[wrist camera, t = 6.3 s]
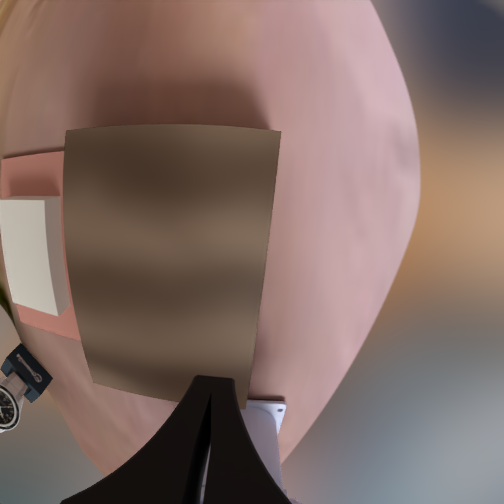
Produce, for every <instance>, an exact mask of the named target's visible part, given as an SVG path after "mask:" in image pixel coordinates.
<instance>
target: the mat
mask: <svg viewBox="0 0 504 504" xmlns="http://www.w3.org/2000/svg"><path fill="white" fill-rule="evenodd" d="M63 162H64V151H59V152H50V153H41V154H34V155H26V156H20V157H14V158H8V159H2V160H1V199H4V198H8V197H12V196H60V201H61V231H62V245H63V256H64V265H65V273H66V280H67V287H68V293H69V299H70V306H69V307H68V308H67V309H66V310H65V311H64V312H63V313H62V314H61V315H60V316H59V317H58V316H55V315H52V314H48V313H45V312H42V311H38V310H35V309H32V308H29V307H26V306H23V305H20V304H17V303H16V305H17V309H18V313H19V316H20V320H21V322H23V323H26V324H29V325H31V326H34V327H37V328H40V329H43V330H46V331H49V332H52V333H55V334H59V335H62V336H65V337H69V338H72V339H76V340H79V341H81V338H80V334H79V330H78V325H77V321H76V316H75V311H74V306H73V301H72V295H71V289H70V283H69V276H68V269H67V260H66V251H65V239H64V224H63Z"/></svg>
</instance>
